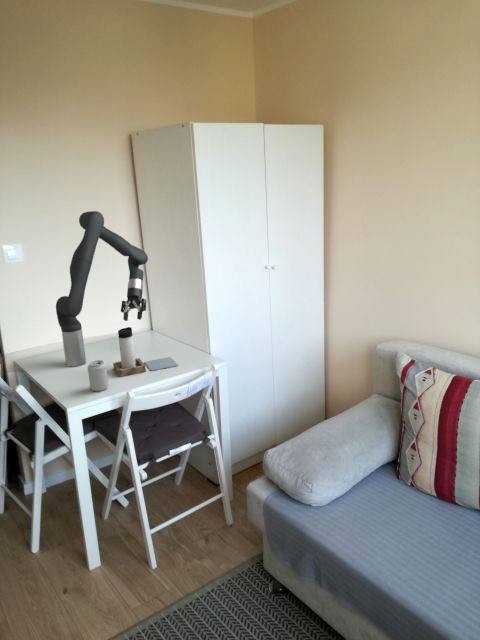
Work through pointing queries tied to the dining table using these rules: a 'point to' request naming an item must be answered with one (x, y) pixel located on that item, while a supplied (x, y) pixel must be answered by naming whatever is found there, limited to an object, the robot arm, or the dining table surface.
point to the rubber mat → (161, 364)
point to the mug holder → (129, 370)
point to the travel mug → (126, 348)
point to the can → (98, 375)
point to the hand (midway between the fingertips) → (132, 319)
